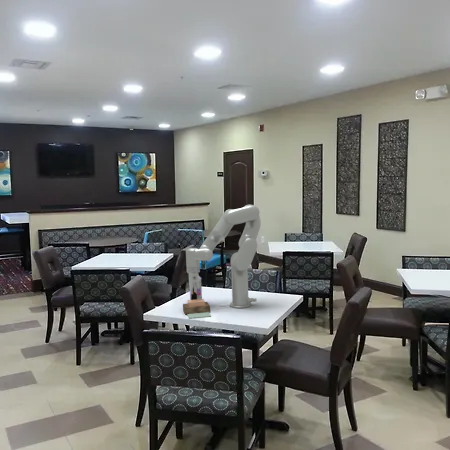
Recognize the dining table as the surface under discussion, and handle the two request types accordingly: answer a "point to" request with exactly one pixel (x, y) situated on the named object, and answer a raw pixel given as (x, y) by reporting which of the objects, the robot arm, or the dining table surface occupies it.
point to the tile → (196, 302)
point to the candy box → (199, 292)
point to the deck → (196, 309)
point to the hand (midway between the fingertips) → (194, 300)
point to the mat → (199, 315)
